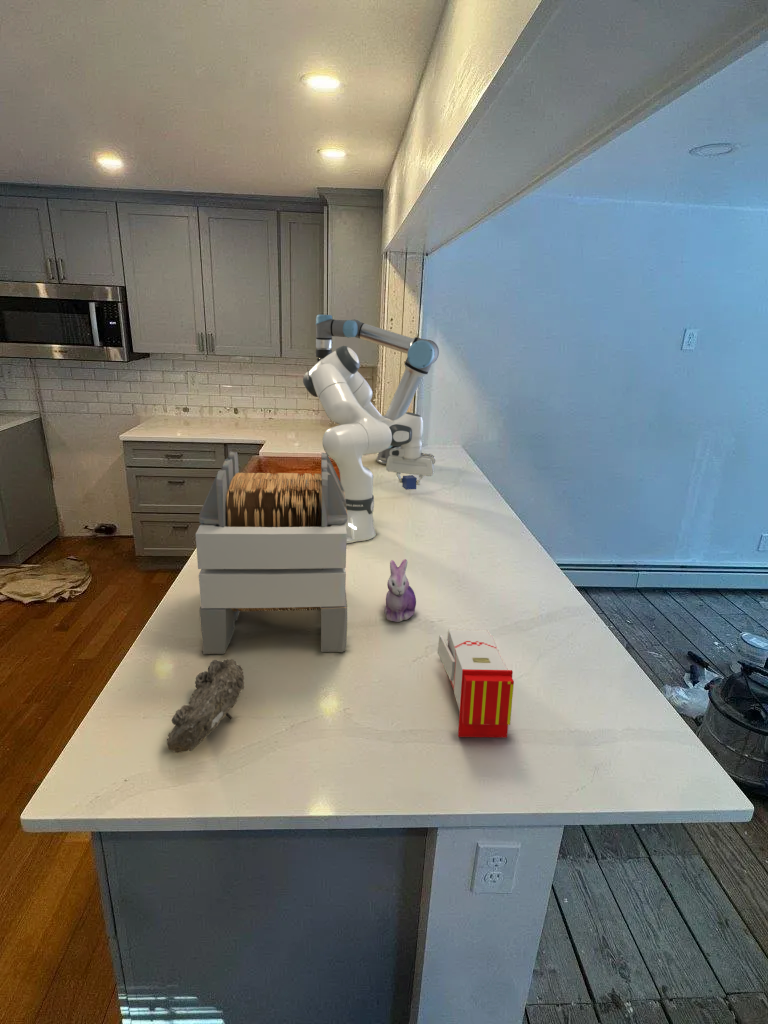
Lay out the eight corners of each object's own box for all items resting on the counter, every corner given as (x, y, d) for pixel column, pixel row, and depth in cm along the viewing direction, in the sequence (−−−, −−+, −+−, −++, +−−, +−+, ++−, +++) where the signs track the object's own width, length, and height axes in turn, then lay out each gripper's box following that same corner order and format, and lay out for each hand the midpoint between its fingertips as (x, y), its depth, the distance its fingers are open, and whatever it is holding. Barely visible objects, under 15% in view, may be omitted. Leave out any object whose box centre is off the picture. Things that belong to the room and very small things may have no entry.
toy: (488, 613, 130) (523, 677, 101) (484, 667, 133) (517, 744, 104) (435, 612, 130) (455, 676, 101) (432, 666, 133) (451, 743, 103)
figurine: (392, 627, 141) (395, 572, 136) (374, 608, 149) (376, 556, 144) (425, 619, 145) (429, 566, 140) (405, 601, 154) (408, 550, 149)
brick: (416, 489, 240) (416, 477, 238) (406, 489, 238) (406, 478, 237) (411, 486, 244) (412, 475, 242) (402, 486, 242) (402, 475, 241)
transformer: (223, 585, 158) (215, 442, 144) (341, 584, 161) (344, 444, 148) (200, 656, 126) (186, 481, 112) (347, 652, 130) (351, 482, 116)
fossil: (192, 660, 117) (244, 628, 112) (224, 691, 120) (276, 661, 115) (142, 746, 98) (202, 712, 93) (182, 779, 101) (242, 748, 96)
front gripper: (437, 452, 236) (434, 484, 241) (389, 447, 241) (388, 478, 246) (434, 456, 231) (431, 488, 235) (385, 450, 235) (384, 482, 240)
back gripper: (339, 351, 260) (338, 397, 267) (323, 346, 282) (323, 390, 289) (323, 350, 257) (323, 398, 265) (309, 346, 279) (309, 390, 286)
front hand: (409, 483), depth 241 cm, fingers closed on brick, 6 cm apart
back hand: (323, 394), depth 277 cm, fingers open, 13 cm apart
